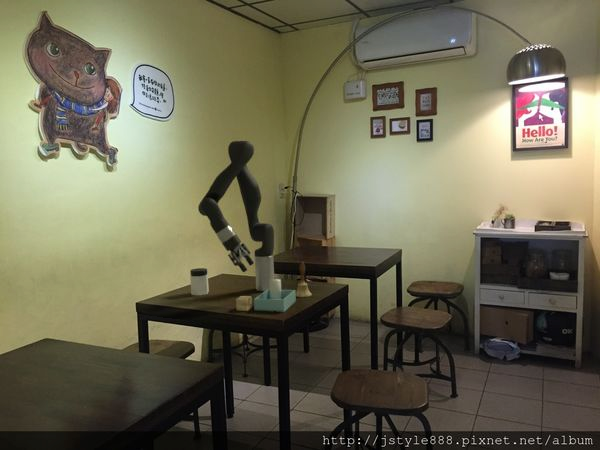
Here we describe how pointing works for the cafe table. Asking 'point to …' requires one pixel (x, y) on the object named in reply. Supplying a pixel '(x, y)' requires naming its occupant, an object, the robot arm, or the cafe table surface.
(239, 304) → the cube
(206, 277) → the jar
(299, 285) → the hand bell
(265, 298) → the tote
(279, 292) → the cylinder
